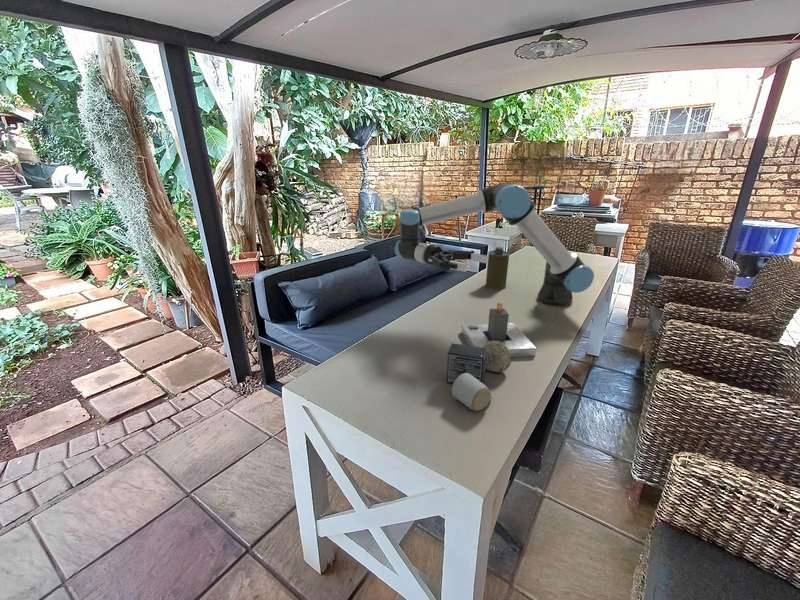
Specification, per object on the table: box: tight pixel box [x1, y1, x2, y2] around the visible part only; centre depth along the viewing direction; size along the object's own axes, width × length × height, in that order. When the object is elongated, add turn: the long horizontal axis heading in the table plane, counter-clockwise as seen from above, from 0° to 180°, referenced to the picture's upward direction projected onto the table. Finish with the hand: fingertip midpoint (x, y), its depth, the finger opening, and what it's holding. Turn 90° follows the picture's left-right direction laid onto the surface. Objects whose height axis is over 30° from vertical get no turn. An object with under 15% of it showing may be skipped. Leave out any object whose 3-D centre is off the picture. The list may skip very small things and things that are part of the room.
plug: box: [487, 302, 510, 341], centre depth 128 cm, size 5×5×15 cm
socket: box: [461, 322, 537, 358], centre depth 131 cm, size 20×20×4 cm
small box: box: [445, 343, 487, 385], centre depth 107 cm, size 11×6×10 cm, turn 71°
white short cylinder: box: [451, 373, 494, 412], centre depth 98 cm, size 11×8×8 cm
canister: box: [485, 246, 511, 290], centre depth 186 cm, size 11×10×20 cm
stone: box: [483, 341, 512, 373], centre depth 113 cm, size 6×10×10 cm, turn 51°
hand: (477, 263), depth 127 cm, fingers open, 13 cm apart
